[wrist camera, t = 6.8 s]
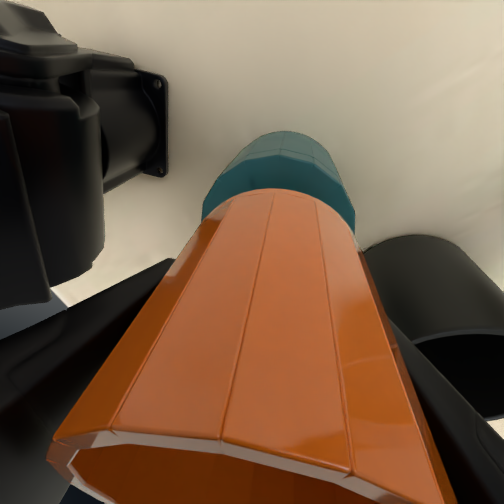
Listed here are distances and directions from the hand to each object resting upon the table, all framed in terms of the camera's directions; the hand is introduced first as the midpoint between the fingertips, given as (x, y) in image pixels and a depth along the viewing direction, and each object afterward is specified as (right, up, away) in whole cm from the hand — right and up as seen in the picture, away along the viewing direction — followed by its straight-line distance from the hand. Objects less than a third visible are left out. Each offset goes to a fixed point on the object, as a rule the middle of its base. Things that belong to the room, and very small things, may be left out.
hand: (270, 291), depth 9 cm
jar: (+2, +6, +10) cm, 12 cm away
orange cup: (0, +1, +1) cm, 2 cm away
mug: (+11, -1, +13) cm, 17 cm away
